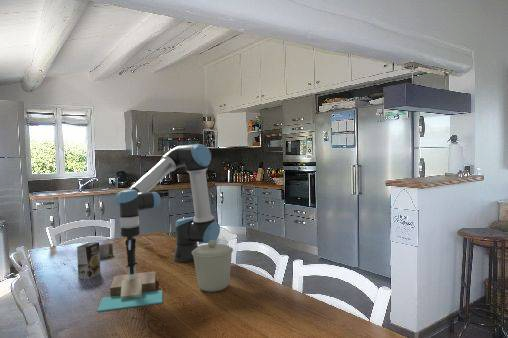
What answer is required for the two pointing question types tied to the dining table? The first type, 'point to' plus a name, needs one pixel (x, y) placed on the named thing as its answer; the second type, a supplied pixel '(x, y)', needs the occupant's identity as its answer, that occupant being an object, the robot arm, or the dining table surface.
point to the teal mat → (130, 301)
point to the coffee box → (88, 260)
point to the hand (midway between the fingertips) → (132, 280)
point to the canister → (213, 266)
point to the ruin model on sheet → (106, 250)
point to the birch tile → (131, 288)
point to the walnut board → (147, 278)
